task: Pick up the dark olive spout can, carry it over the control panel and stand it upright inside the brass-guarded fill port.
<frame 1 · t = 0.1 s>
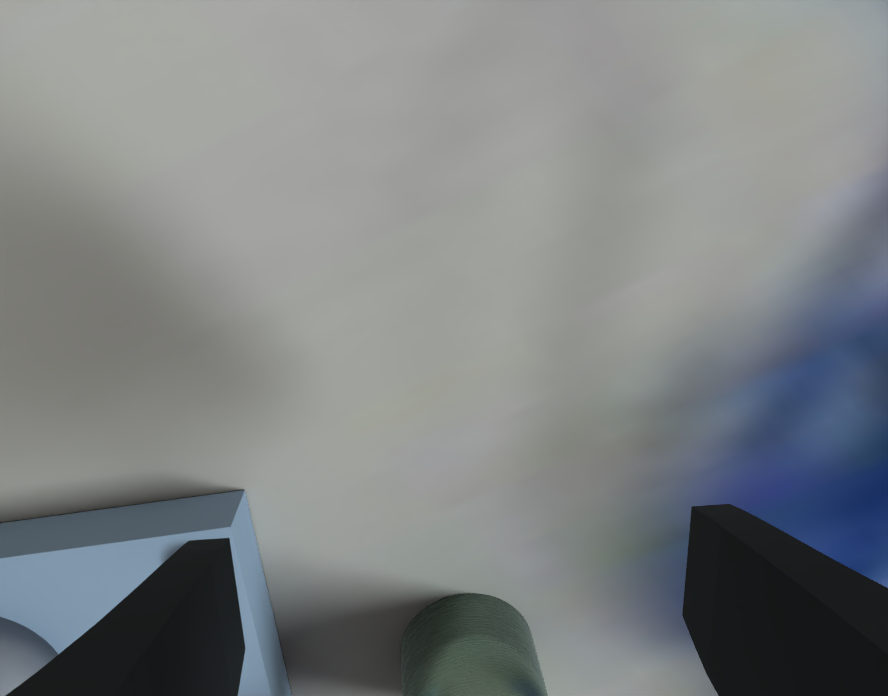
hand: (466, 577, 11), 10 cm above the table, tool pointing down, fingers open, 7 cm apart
spout can: (467, 649, 24), on the table
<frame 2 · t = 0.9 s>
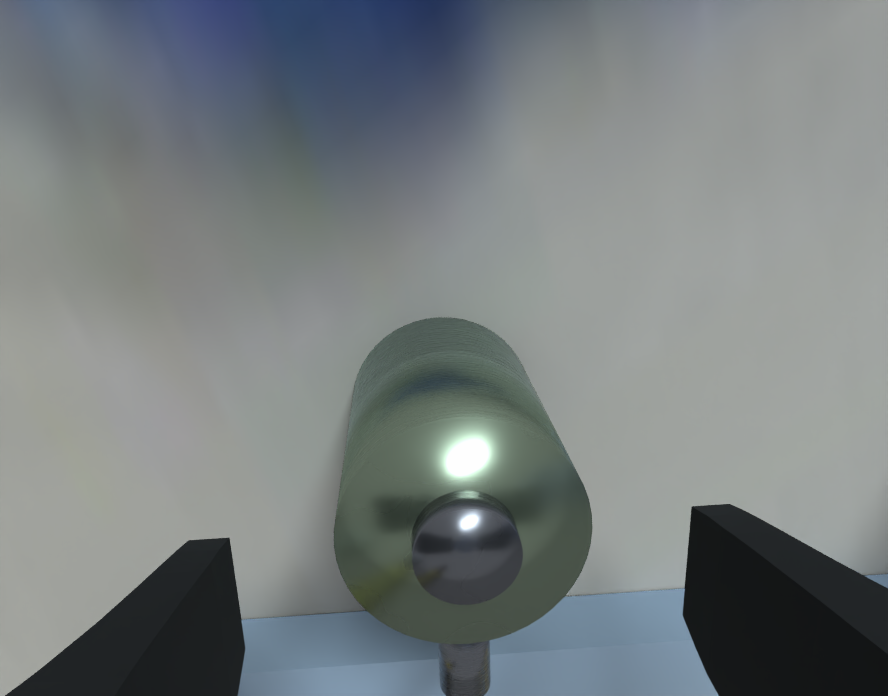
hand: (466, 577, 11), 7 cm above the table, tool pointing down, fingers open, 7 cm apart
spout can: (441, 402, 18), on the table
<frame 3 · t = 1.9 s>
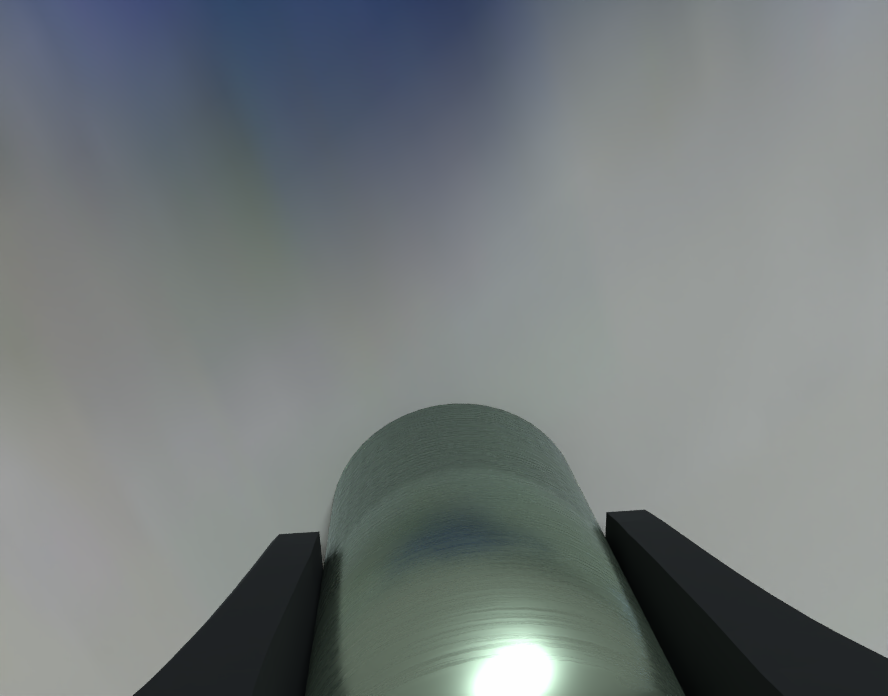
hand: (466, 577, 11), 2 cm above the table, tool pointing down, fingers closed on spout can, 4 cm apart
spout can: (456, 517, 13), on the table, touching gripper
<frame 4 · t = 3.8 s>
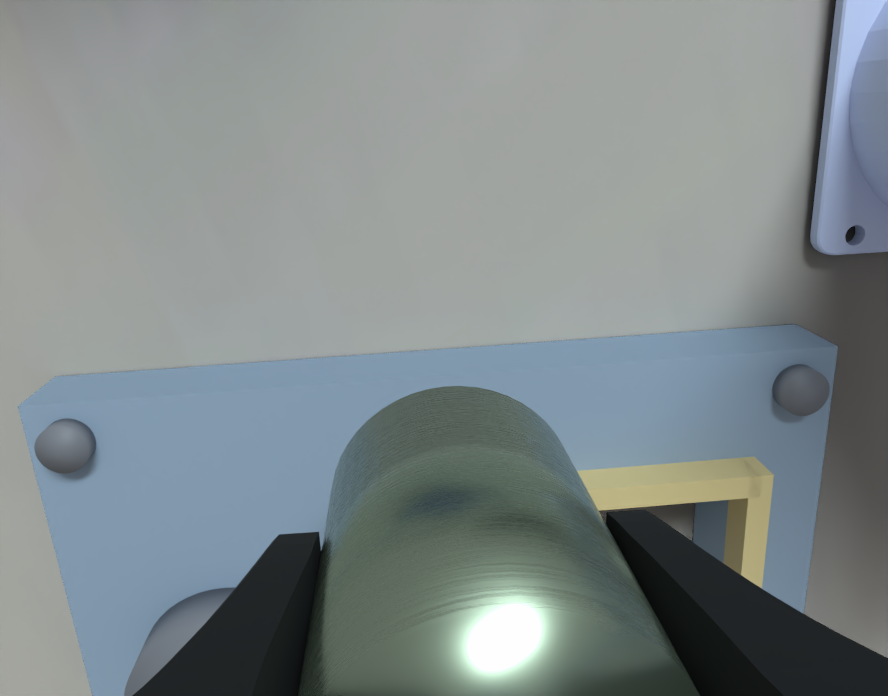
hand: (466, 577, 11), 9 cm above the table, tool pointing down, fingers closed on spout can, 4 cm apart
spout can: (453, 500, 13), point 7 cm above the table, touching gripper
control panel: (449, 598, 22), on the table
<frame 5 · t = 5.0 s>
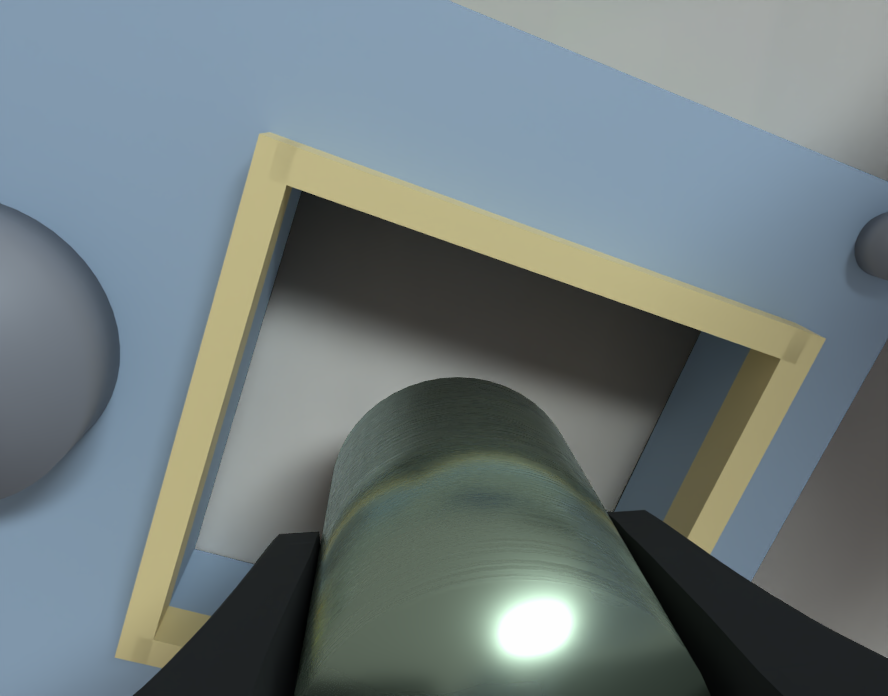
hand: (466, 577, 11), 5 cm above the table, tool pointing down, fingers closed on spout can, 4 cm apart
spout can: (454, 493, 13), point 3 cm above the table, touching gripper
control panel: (314, 395, 16), on the table
when the fingers open (3 cm above the table, at t = 5.8 s): spout can drops 1 cm, resting in control panel.
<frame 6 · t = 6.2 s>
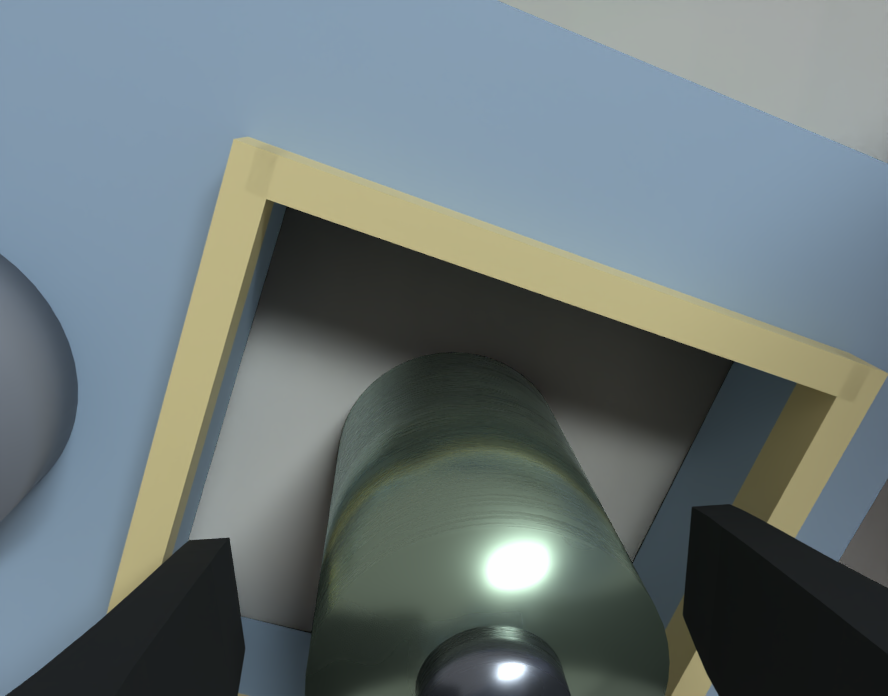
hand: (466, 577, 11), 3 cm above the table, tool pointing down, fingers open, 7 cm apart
spout can: (450, 456, 14), resting in control panel
control panel: (303, 430, 14), on the table
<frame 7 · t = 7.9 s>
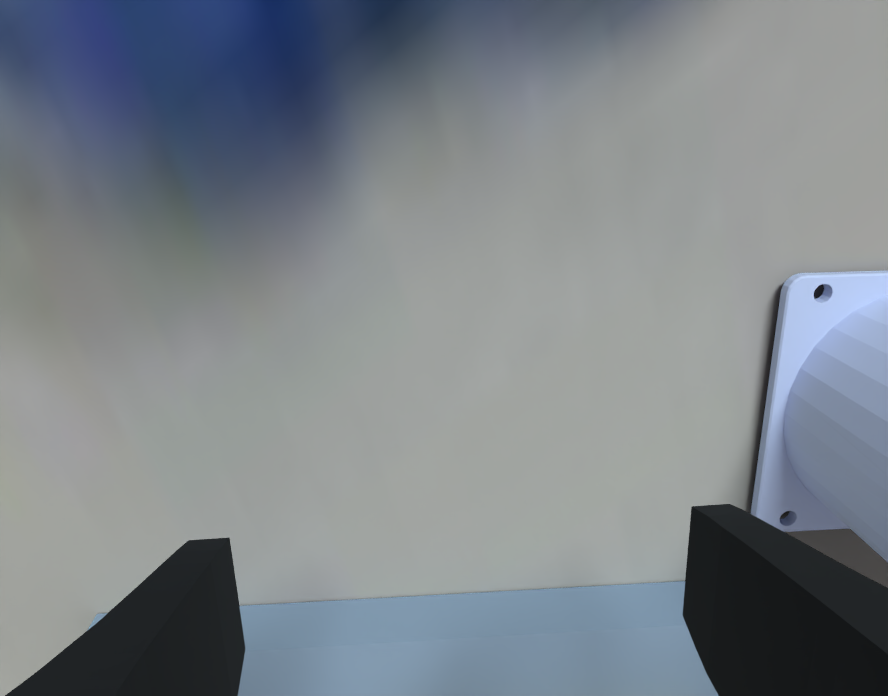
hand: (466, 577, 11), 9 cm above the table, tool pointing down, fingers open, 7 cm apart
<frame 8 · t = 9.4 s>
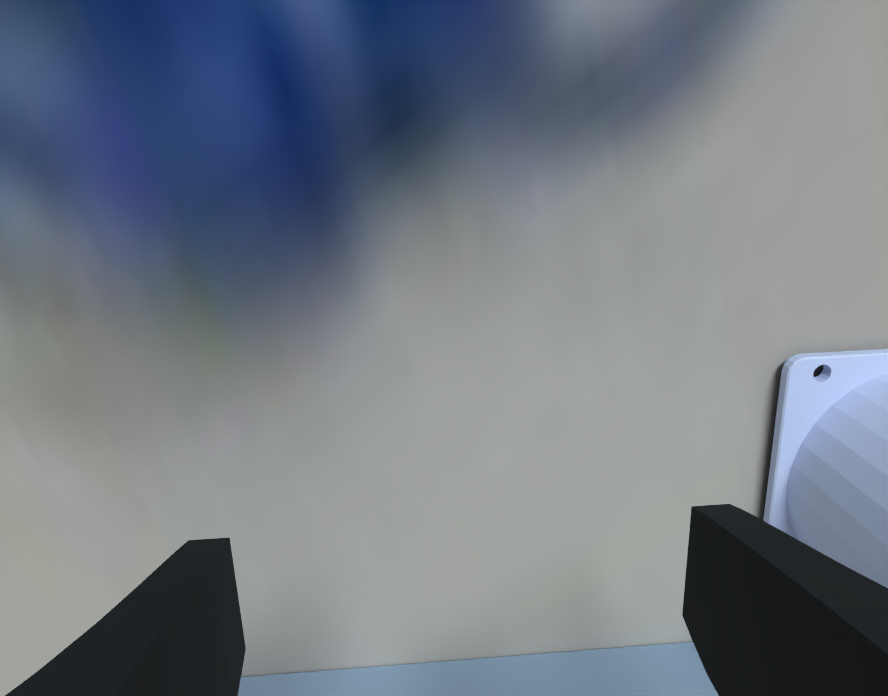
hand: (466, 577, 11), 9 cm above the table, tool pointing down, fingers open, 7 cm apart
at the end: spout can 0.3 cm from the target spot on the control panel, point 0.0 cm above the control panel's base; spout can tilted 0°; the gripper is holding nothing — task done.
